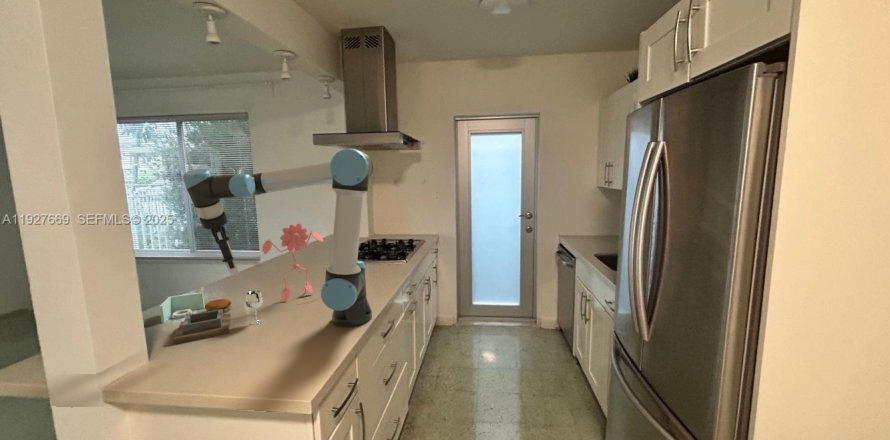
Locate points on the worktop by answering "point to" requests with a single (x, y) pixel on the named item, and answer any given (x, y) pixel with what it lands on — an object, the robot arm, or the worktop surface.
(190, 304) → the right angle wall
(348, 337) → the worktop surface
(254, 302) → the wineglass
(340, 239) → the robot arm
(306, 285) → the figurine
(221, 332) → the socket base
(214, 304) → the burger
